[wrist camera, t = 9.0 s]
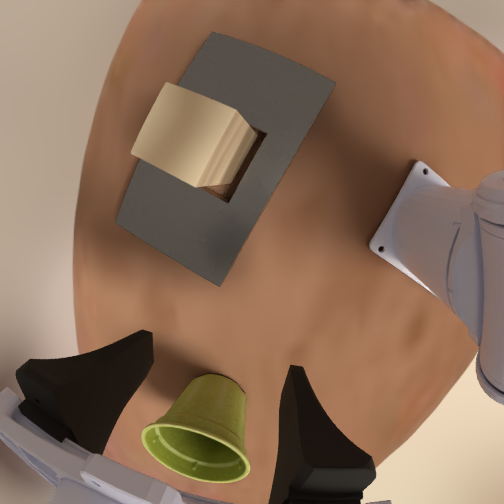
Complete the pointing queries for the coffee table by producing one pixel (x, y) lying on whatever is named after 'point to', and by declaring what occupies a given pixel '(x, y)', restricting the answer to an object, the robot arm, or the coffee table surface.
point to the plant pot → (203, 432)
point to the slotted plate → (258, 173)
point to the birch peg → (194, 138)
